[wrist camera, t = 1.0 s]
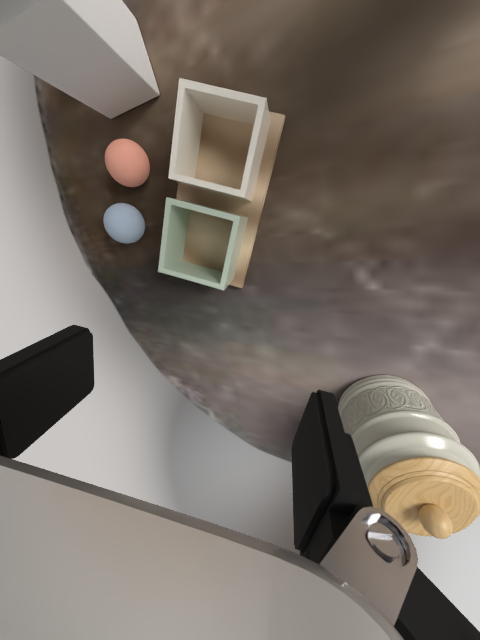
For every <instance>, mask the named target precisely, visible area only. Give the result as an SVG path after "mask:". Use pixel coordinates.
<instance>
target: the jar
mask: <svg viewBox="0 0 480 640" xmlns="http://www.w3.org/2000/svg"><path fill="white" fill-rule="evenodd" d="M338 410H339V414H340V417H341V421H342V425H343V428H344V432H345V433H348V434H350V435H351V437H352V439H353V442H354V445H355V448H356V452H357V455H358V458H359V461H360V465H361V468H362V471H363V474H364V478H365V481H366V484H367V487H368V490H369V494H370V497H371V500H372V503H373V507H374V508H378V509H380V510H382V511H384V512H386V513H388V514H389V515H390V516H392V517H393V518H394V519H396V520H397V521H398V523H399V524H400V525H401V526H402V527H403V528H404V529H405V531H406V532H408V533H412V534H416V535H421V536H434V537H436V538H440V539H444V538H448V537H449V536H450V535H451V534H453V533H455V532H459V531H461V530H463V529H465V528H466V527H468V526H469V525H470V524H471V523H472V522H473V521H474V520H475V518H477V517H478V516H479V515H480V467H479V464H478V462H477V460H476V458H475V457H474V455H473V454H472V453H471V452H470V451H469V450H468V449H467V448H466V447H464V446H463V445H462V444H460V440H459V438H458V436H457V434H456V433H455V431H454V430H453V429H452V428H451V427H450V426H449V425H448V424H447V423H445V422H444V420H443V419H442V418H441V416H440V415H439V414H438V413H437V411H436V410H435V409H434V408H433V406H432V404H431V402H430V400H429V399H428V398H427V396H426V395H425V394H424V393H423V392H422V391H421V390H420V389H419V388H417V387H416V386H414V385H413V384H412V383H410V382H409V381H407V380H405V379H403V378H400V377H396V376H390V375H376V376H370V377H367V378H364V379H361V380H359V381H357V382H355V383H353V384H352V385H351V386H349V387H348V388H347V389H346V390H345V391H344V393H343V394H342V396H341V398H340V400H339V403H338Z"/></svg>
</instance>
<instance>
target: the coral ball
mask: <svg viewBox="0 0 480 640" xmlns="http://www.w3.org/2000/svg"><path fill="white" fill-rule="evenodd" d="M105 163H106V167H107V169H108V171H109V173H110V175H111V176H112V177H113V178H114V179H115V180H116V181H117V182H118V183H120V184H122V185H124V186H127V187H137V186H140V185H142V184H143V183H144V182H145V181H146V180H147V178H148V176H149V173H150V163H149V159H148V157H147V155H146V153H145V151H144V150H143V149H142V148H141V147H140V146H139V145H138V144H137V143H135V142H134V141H132V140H129V139H117V140H114V141H113V142H111V143H110V144H109V146H108V147H107V149H106V152H105Z"/></svg>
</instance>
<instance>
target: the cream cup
mask: <svg viewBox="0 0 480 640" xmlns="http://www.w3.org/2000/svg"><path fill="white" fill-rule="evenodd" d="M204 113H206V114H210V115H214V116H218V117H223V118H227V119H231V120H235V121H239V122H244V123H248V124H252V125H254V127H253V132H252V137H251V141H250V146H249V151H248V155H247V160H246V165H245V170H244V174H243V179H242V184H241V188H240V190H238V189H235V188H231V187H227V186H223V185H219V184H215V183H211V182H207V181H203V180H199V179H196V178H195V172H196V165H197V158H198V151H199V145H200V138H201V131H202V124H203V117H204ZM269 126H270V116H269V110H268V104H267V98H264V97H260V96H256V95H251V94H247V93H243V92H238V91H234V90H229V89H225V88H221V87H216V86H212V85H208V84H203V83H199V82H195V81H190V80H186V79H182V78H179V86H178V95H177V104H176V113H175V122H174V131H173V140H172V149H171V158H170V167H169V176H168V178H169V179H172V180H175V181H177V182H180V183H183V184H186V185H189V186H192V187H196V188H200V189H204V190H208V191H212V192H216V193H220V194H223V195H227V196H231V197H235V198H239V199H243V200H247V201H251V202H252V199H253V195H254V190H255V186H256V182H257V178H258V173H259V169H260V165H261V161H262V156H263V152H264V148H265V143H266V139H267V135H268V131H269Z"/></svg>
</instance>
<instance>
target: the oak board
mask: <svg viewBox="0 0 480 640" xmlns="http://www.w3.org/2000/svg"><path fill="white" fill-rule="evenodd" d="M269 116H270V126H269V131H268V135H267V139H266V143H265V148H264V152H263V156H262V161H261V165H260V169H259V173H258V178H257V182H256V186H255V190H254V195H253V199H252V202H251V201H247V200H243V199H239V198H235V197H231V196H227V195H223V194H220V193H216V192H212V191H208V190H204V189H200V188H196V187H192V186H189V185H186V184H183V183H180V182H178V189H177V197H176V199H179V200H184V201H188V202H192V203H196V204H200V205H204V206H207V207H211V208H215V209H219V210H223V211H227V212H230V213H234V214H238V215H242V216H246V217H248V220H247V225H246V229H245V233H244V238H243V242H242V246H241V250H240V255H239V259H238V263H237V267H236V272H235V276H234V280H233V281H232V282H231V283H230V284H229V285H232V286H236V287H239V288H242V287H243V285H244V281H245V277H246V273H247V269H248V265H249V261H250V257H251V253H252V249H253V245H254V241H255V237H256V234H257V230H258V226H259V222H260V218H261V214H262V210H263V206H264V202H265V198H266V194H267V190H268V186H269V182H270V178H271V174H272V170H273V166H274V162H275V158H276V154H277V150H278V146H279V142H280V138H281V134H282V130H283V126H284V122H285V115H283V114H278V113H274V112H270V111H269ZM253 127H254V125H252V124H248V123H244V122H239V121H235V120H231V119H227V118H223V117H218V116H214V115H210V114H206V113H204V117H203V124H202V131H201V138H200V145H199V151H198V158H197V165H196V172H195V178H196V179H199V180H203V181H207V182H211V183H215V184H219V185H223V186H227V187H231V188H235V189H238V190H240V188H241V184H242V179H243V174H244V170H245V165H246V160H247V155H248V151H249V146H250V141H251V137H252V132H253ZM232 226H233V221H231V220H228V219H224V218H220V217H216V216H212V215H209V214H205V213H201V212H197V211H194V210H190V213H189V220H188V226H187V233H186V240H185V247H184V254H183V260H182V261H185V262H189V263H193V264H196V265H200V266H203V267H207V268H211V269H214V270H218V271H221V272H223V268H224V263H225V259H226V254H227V249H228V245H229V240H230V235H231V230H232Z"/></svg>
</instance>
